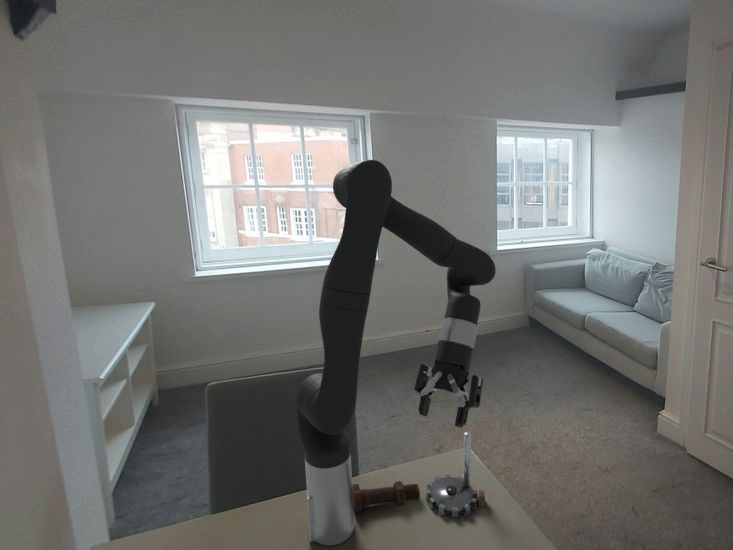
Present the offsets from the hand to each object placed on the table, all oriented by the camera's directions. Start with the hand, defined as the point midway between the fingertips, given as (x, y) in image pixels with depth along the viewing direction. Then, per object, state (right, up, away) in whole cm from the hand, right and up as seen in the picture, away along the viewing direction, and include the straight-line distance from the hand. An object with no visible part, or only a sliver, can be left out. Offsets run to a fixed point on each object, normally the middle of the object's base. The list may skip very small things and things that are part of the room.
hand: (440, 421), depth 85 cm
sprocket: (+4, -21, +9) cm, 23 cm away
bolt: (-11, -22, +9) cm, 26 cm away
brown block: (+10, -21, +8) cm, 25 cm away
